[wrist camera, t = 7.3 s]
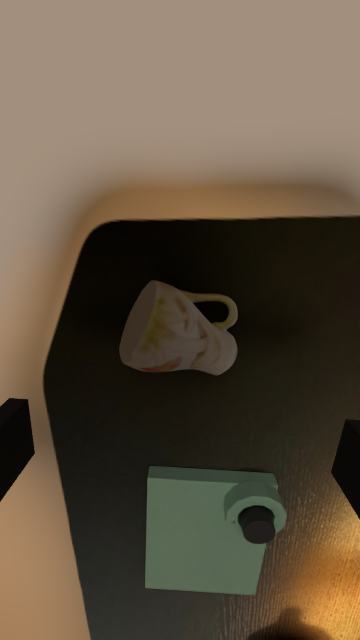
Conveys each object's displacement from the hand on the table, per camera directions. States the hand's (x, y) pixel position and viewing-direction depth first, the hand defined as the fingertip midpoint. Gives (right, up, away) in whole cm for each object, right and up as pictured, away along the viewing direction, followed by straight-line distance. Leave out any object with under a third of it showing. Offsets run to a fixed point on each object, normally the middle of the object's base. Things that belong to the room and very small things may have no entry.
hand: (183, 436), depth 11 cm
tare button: (+8, -15, +17) cm, 24 cm away
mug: (0, +5, +14) cm, 15 cm away
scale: (+3, -20, +22) cm, 30 cm away
